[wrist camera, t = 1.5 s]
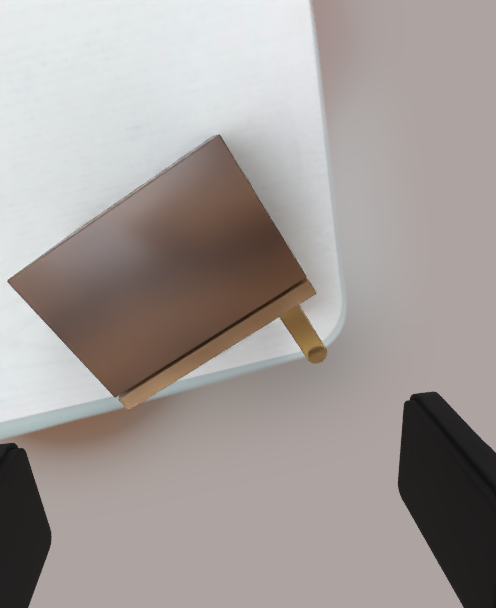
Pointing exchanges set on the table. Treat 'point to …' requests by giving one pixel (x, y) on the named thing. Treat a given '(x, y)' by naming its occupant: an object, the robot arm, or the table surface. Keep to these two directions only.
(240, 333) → the cupboard door
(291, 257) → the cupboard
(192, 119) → the table surface
